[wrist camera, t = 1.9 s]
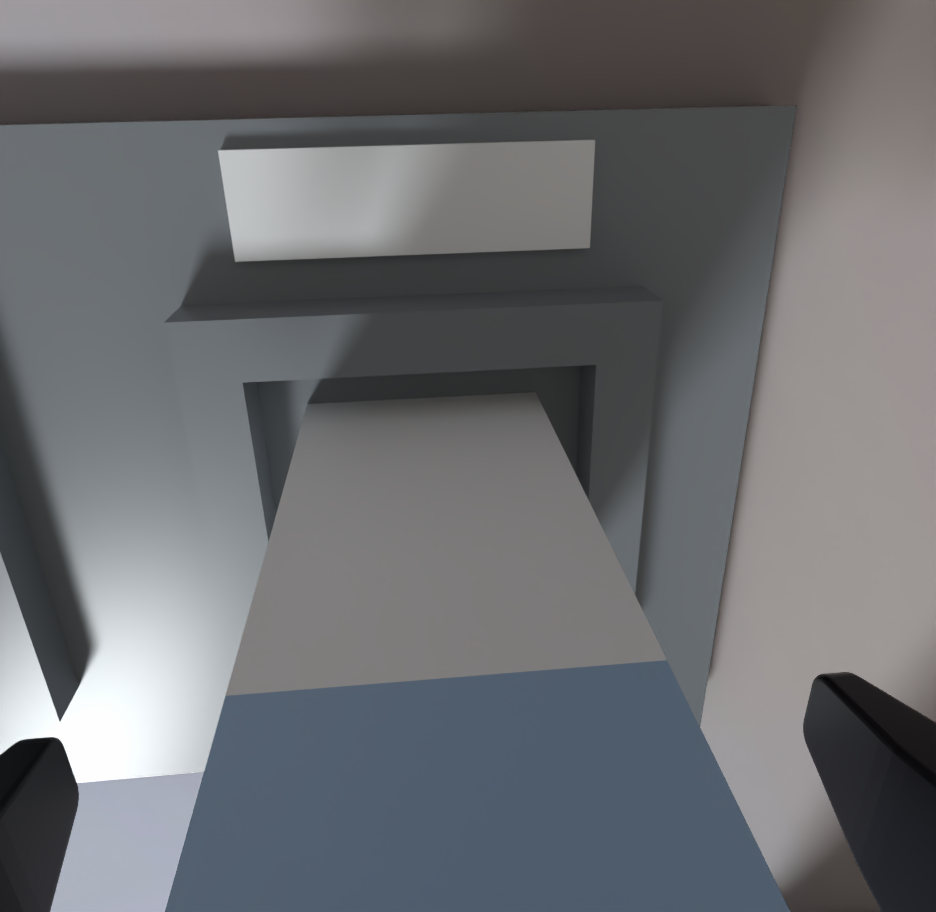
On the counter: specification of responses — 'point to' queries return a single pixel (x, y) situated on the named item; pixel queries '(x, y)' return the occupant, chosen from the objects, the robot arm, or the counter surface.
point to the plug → (455, 694)
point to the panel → (348, 365)
